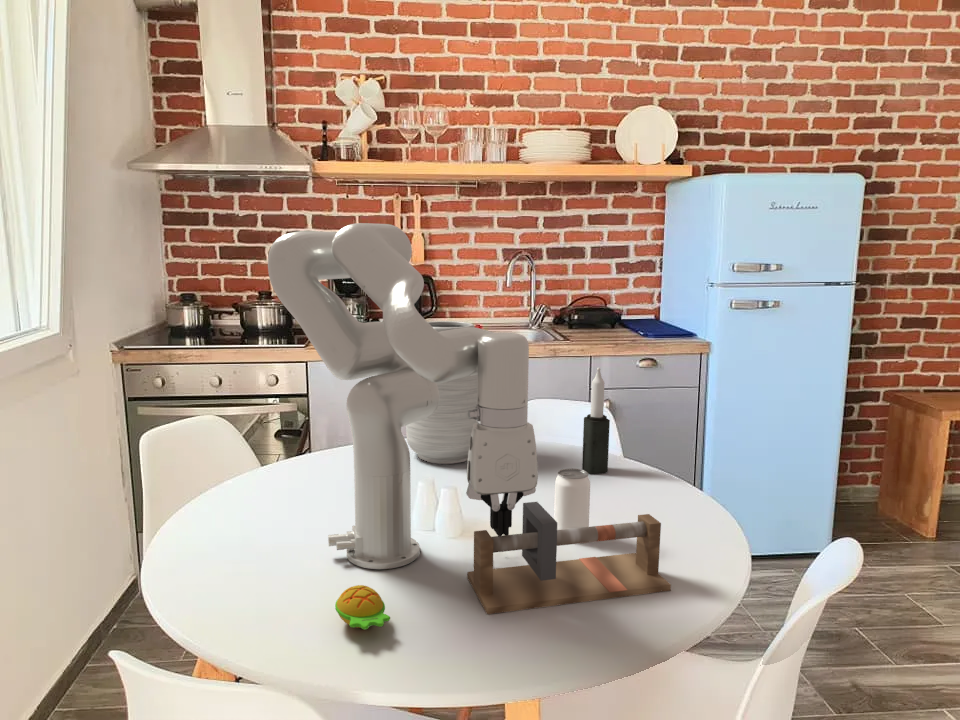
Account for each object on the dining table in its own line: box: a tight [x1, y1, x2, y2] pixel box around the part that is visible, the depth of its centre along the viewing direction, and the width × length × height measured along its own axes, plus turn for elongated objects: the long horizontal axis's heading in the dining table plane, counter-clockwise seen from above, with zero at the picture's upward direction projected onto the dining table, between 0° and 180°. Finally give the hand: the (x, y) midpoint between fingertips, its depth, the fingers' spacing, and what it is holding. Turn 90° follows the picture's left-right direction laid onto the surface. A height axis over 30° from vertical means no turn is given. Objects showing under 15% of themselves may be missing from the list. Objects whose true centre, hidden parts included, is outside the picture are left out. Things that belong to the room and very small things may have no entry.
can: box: [553, 468, 591, 530], centre depth 133 cm, size 6×6×12 cm
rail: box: [466, 513, 672, 615], centre depth 114 cm, size 30×12×10 cm, turn 105°
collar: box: [521, 501, 558, 581], centre depth 113 cm, size 2×9×9 cm, turn 15°
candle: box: [581, 367, 611, 475], centre depth 170 cm, size 5×5×25 cm
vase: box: [405, 320, 478, 465], centre depth 180 cm, size 20×20×34 cm
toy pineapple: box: [334, 584, 391, 630], centre depth 101 cm, size 7×10×5 cm
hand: (500, 532), depth 111 cm, fingers closed
